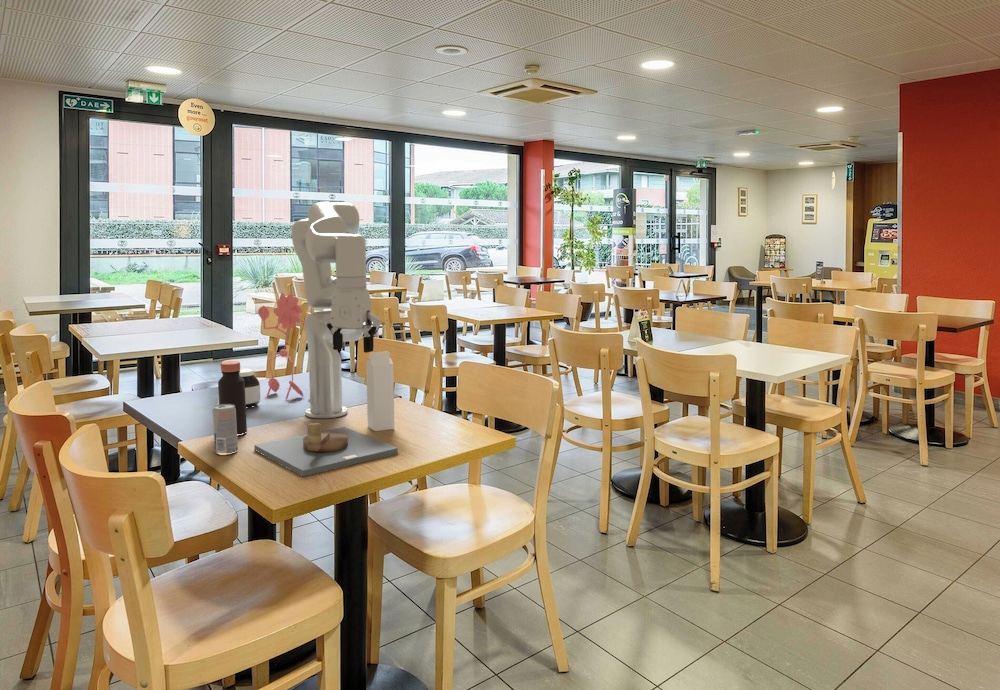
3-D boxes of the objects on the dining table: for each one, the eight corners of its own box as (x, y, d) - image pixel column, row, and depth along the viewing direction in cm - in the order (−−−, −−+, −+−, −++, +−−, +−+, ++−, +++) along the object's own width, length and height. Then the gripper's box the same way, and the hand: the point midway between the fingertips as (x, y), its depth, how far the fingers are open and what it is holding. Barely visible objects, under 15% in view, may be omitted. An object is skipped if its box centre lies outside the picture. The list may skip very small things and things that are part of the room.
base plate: (254, 450, 179) (254, 444, 179) (344, 431, 197) (344, 425, 196) (302, 476, 160) (302, 469, 160) (397, 453, 178) (397, 447, 178)
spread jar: (264, 406, 225) (263, 370, 223) (234, 413, 216) (232, 376, 214) (240, 400, 231) (238, 366, 230) (210, 407, 222) (208, 371, 220)
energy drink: (229, 448, 181) (227, 402, 179) (242, 451, 178) (240, 405, 176) (210, 453, 177) (208, 406, 175) (223, 457, 174) (221, 410, 172)
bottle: (222, 438, 189) (218, 365, 186) (219, 432, 195) (215, 361, 192) (248, 435, 192) (245, 363, 189) (245, 429, 198) (241, 359, 195)
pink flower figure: (302, 403, 228) (299, 295, 223) (248, 393, 241) (245, 291, 236) (335, 395, 241) (334, 293, 236) (283, 386, 254) (281, 290, 249)
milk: (394, 429, 200) (393, 353, 197) (374, 431, 197) (373, 354, 194) (387, 423, 205) (386, 349, 202) (367, 426, 202) (366, 351, 199)
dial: (311, 438, 184) (309, 409, 183) (352, 439, 184) (351, 410, 182) (290, 458, 168) (289, 425, 167) (335, 459, 168) (335, 426, 166)
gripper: (314, 283, 178) (317, 350, 181) (370, 285, 171) (371, 355, 173) (333, 282, 185) (335, 346, 188) (388, 284, 177) (389, 350, 180)
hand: (353, 350), depth 180 cm, fingers open, 9 cm apart
